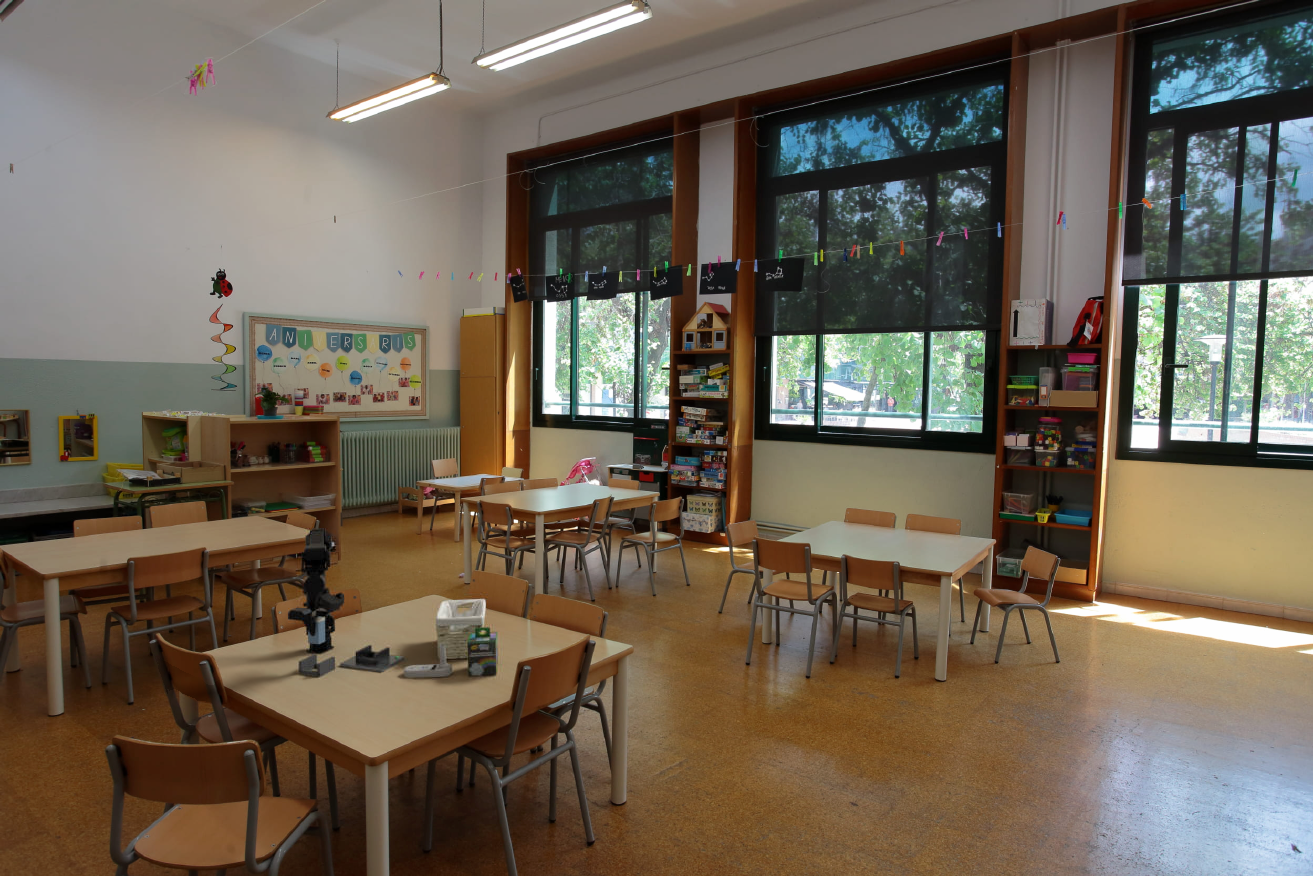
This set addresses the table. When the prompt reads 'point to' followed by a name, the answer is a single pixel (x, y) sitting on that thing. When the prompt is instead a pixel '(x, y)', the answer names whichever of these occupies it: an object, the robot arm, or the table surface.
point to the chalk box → (482, 653)
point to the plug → (318, 632)
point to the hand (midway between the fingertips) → (316, 634)
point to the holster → (316, 666)
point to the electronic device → (430, 668)
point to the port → (372, 659)
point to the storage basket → (458, 625)
